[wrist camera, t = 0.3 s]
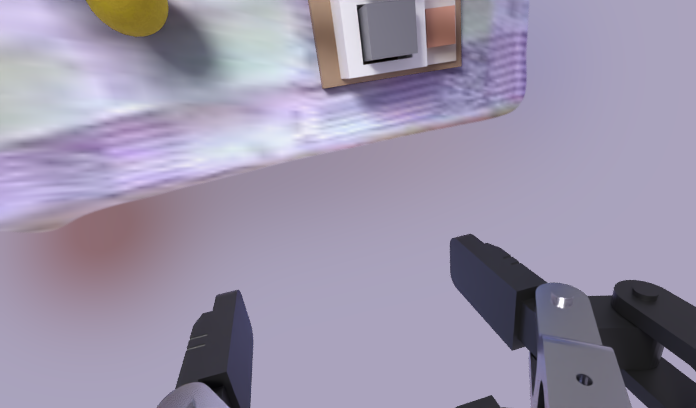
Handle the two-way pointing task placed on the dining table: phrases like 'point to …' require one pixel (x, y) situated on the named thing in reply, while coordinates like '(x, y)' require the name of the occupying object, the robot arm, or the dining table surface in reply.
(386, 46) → the button
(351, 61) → the switch housing
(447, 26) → the switch base
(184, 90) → the dining table surface
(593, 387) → the robot arm
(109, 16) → the lemon
